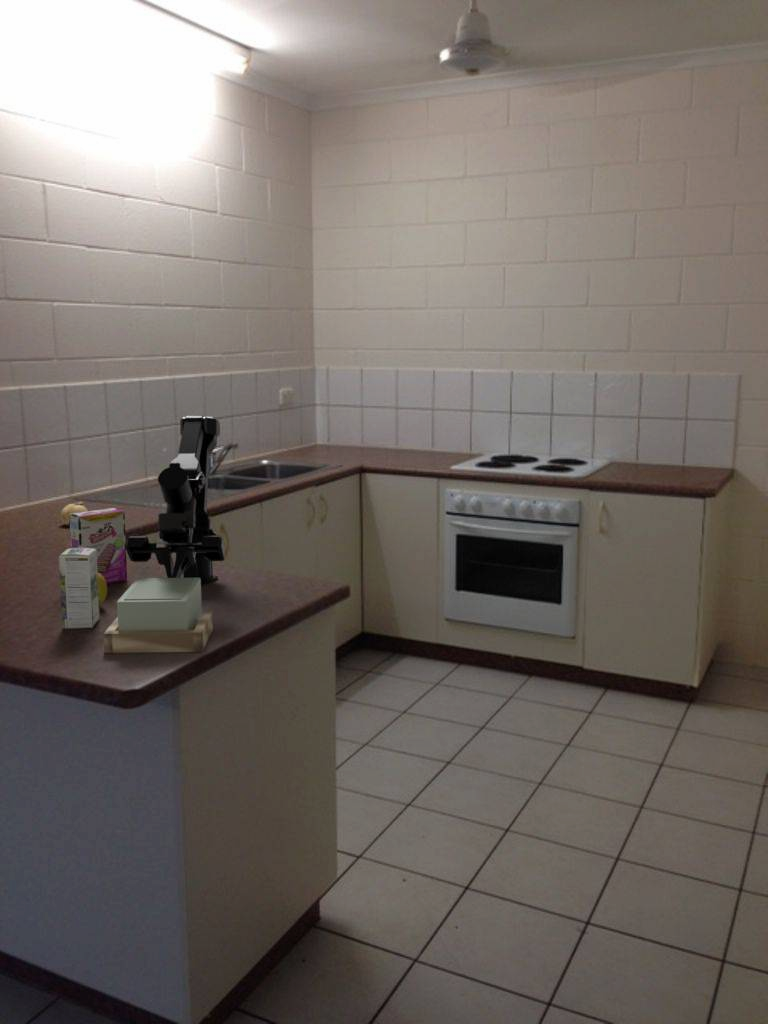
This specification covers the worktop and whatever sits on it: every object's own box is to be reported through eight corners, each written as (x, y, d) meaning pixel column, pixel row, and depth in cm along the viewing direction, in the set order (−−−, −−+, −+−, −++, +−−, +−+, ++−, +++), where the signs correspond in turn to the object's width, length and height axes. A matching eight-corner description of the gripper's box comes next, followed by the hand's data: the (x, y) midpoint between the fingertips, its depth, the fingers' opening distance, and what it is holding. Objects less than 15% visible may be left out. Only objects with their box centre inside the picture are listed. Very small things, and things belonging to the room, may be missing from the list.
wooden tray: (122, 630, 173) (120, 612, 172) (212, 629, 173) (212, 611, 173) (104, 653, 161) (103, 633, 160) (202, 651, 161) (201, 632, 161)
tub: (139, 623, 178) (137, 577, 176) (202, 622, 178) (200, 576, 177) (119, 651, 162) (116, 600, 161) (188, 650, 163) (185, 600, 161)
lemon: (111, 604, 190) (108, 566, 189) (104, 611, 185) (101, 573, 183) (84, 604, 190) (81, 566, 189) (76, 612, 185) (73, 573, 183)
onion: (72, 529, 265) (71, 505, 264) (55, 526, 270) (53, 502, 268) (95, 524, 272) (94, 500, 271) (78, 521, 276) (76, 498, 275)
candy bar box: (82, 590, 201) (78, 516, 198) (72, 585, 204) (67, 513, 201) (129, 580, 209) (125, 509, 205) (118, 576, 212) (114, 506, 209)
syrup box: (70, 620, 179) (65, 547, 177) (101, 619, 180) (96, 547, 177) (62, 629, 174) (57, 554, 171) (94, 628, 174) (89, 553, 172)
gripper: (124, 496, 179) (113, 564, 170) (220, 495, 180) (214, 563, 171) (136, 527, 188) (126, 594, 180) (227, 526, 189) (222, 593, 180)
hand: (171, 585), depth 177 cm, fingers closed
